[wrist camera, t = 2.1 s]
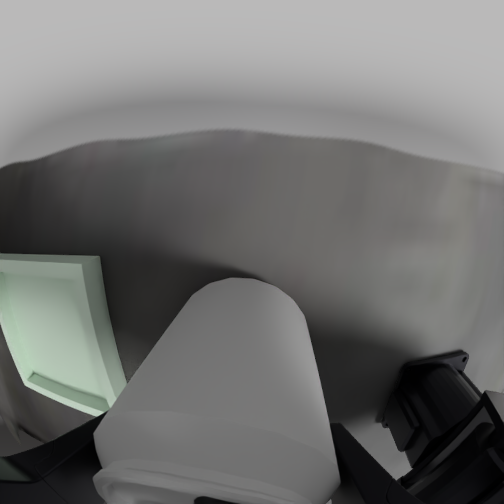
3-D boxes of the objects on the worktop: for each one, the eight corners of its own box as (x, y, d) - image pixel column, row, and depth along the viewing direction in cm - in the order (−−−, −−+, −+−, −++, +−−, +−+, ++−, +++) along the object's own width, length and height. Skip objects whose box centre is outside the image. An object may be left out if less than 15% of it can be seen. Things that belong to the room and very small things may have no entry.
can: (324, 357, 16) (367, 538, 4) (218, 393, 17) (176, 550, 5) (275, 249, 14) (285, 450, 3) (159, 301, 16) (27, 448, 4)
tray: (99, 255, 15) (81, 263, 13) (136, 410, 18) (127, 425, 16) (0, 253, 16) (-15, 258, 14) (35, 375, 19) (25, 385, 17)
